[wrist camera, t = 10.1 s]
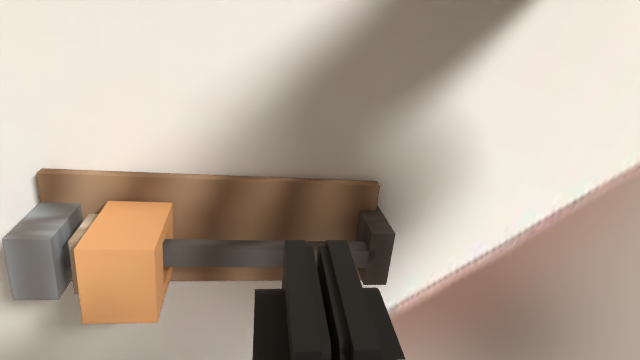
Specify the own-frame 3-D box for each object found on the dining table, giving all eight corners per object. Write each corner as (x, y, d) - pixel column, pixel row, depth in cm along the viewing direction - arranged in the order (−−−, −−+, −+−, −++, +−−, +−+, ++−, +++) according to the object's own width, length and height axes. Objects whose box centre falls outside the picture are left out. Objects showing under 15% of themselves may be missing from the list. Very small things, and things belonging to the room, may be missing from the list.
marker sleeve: (172, 202, 36) (154, 250, 29) (174, 264, 39) (157, 322, 32) (108, 200, 36) (73, 249, 29) (113, 264, 38) (82, 323, 31)
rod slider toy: (382, 181, 40) (407, 215, 34) (367, 274, 44) (387, 321, 37) (41, 168, 35) (-5, 205, 29) (56, 274, 39) (18, 328, 33)
